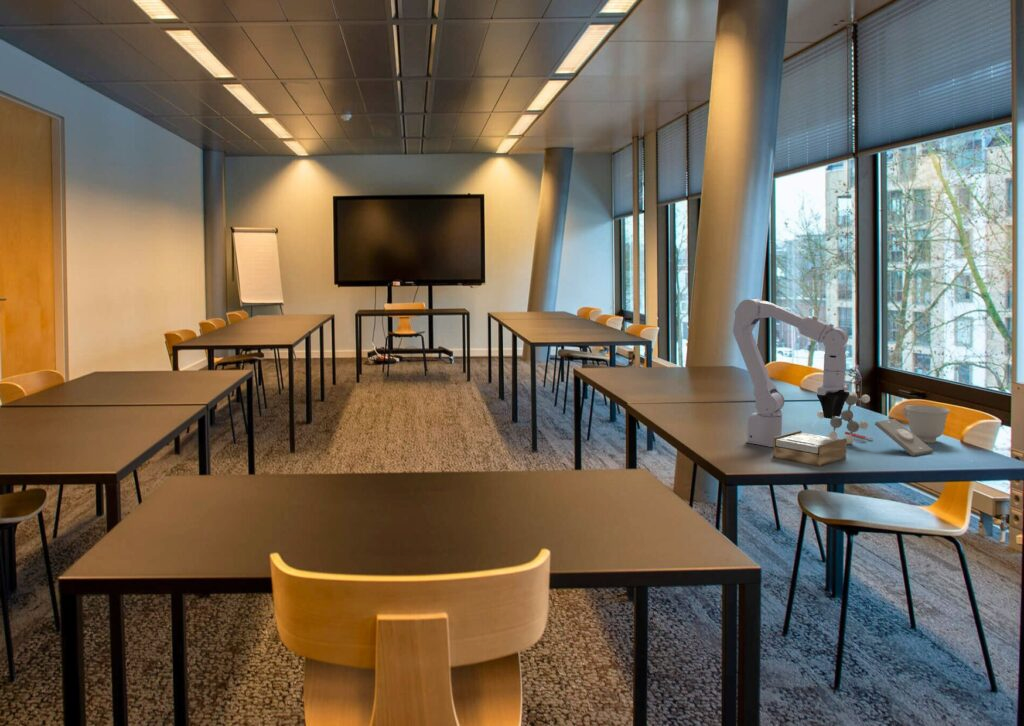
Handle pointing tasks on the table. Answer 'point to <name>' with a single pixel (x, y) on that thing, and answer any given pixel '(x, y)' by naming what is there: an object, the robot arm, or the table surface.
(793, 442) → the cover plate
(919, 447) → the light switch
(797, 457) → the oak box
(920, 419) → the teacup
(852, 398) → the molecule model
